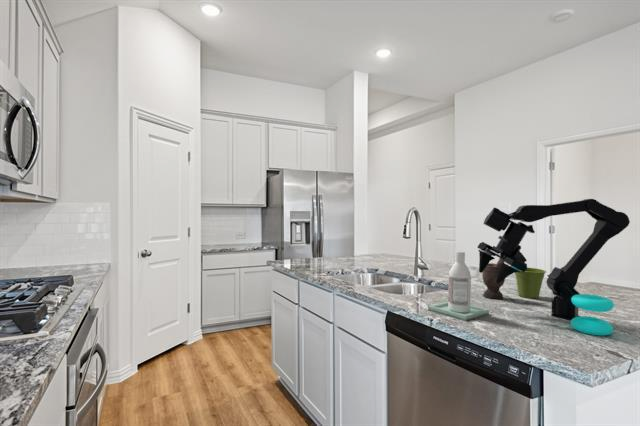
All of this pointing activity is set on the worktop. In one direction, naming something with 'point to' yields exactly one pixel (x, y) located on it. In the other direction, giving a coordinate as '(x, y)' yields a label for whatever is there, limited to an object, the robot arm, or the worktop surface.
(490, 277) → the mortar and pestle
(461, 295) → the bath foam
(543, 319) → the worktop surface
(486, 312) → the tray
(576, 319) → the donuts
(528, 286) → the plant pot
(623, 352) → the worktop surface
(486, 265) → the robot arm
